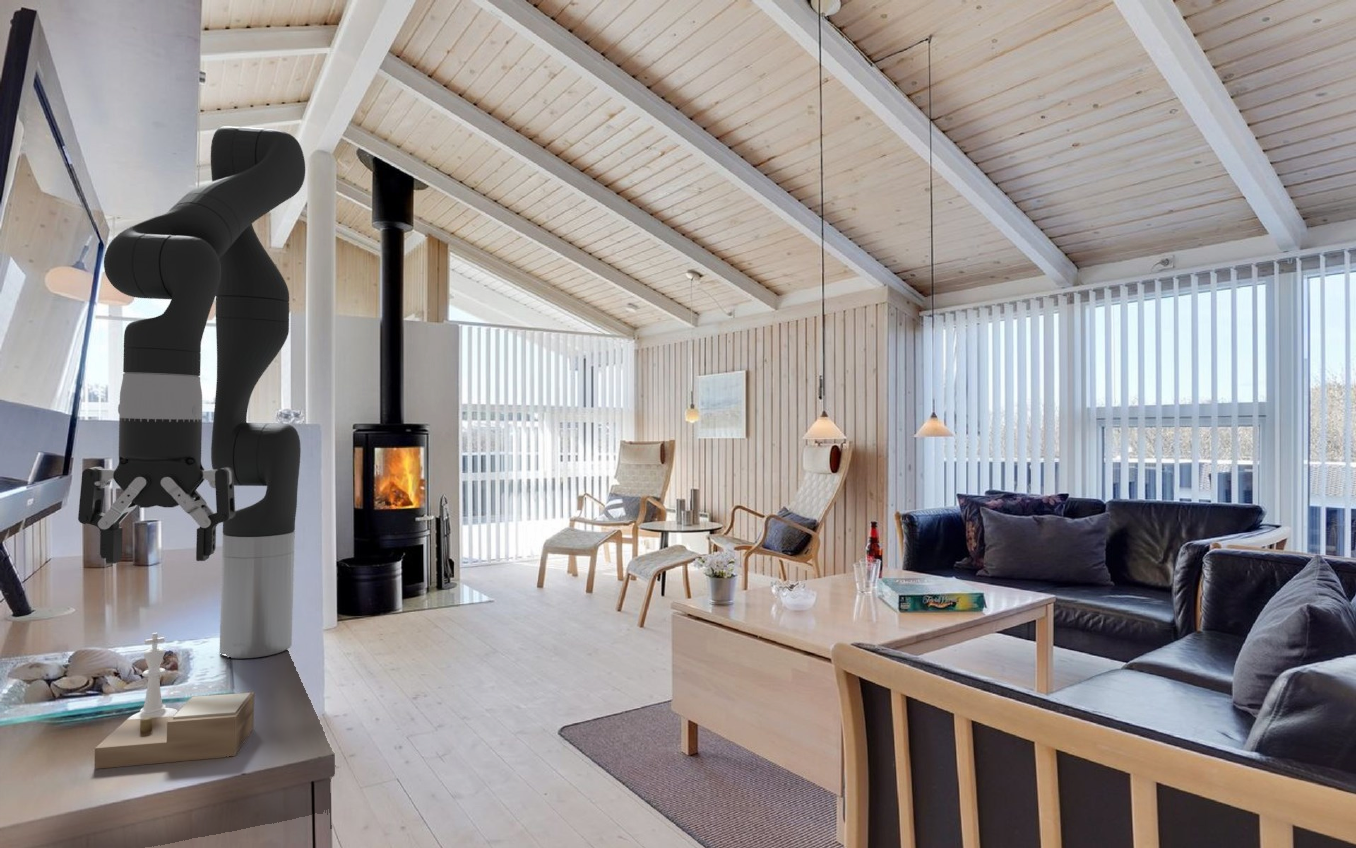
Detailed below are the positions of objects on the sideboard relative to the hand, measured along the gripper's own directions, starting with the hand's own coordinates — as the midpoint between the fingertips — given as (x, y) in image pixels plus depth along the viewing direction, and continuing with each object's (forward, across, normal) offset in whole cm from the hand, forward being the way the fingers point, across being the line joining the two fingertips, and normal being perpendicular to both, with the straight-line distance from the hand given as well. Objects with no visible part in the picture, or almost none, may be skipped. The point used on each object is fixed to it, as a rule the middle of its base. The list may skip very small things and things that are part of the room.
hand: (158, 561), depth 82 cm
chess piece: (+18, 0, 0) cm, 18 cm away
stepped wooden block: (+18, -5, +8) cm, 20 cm away
